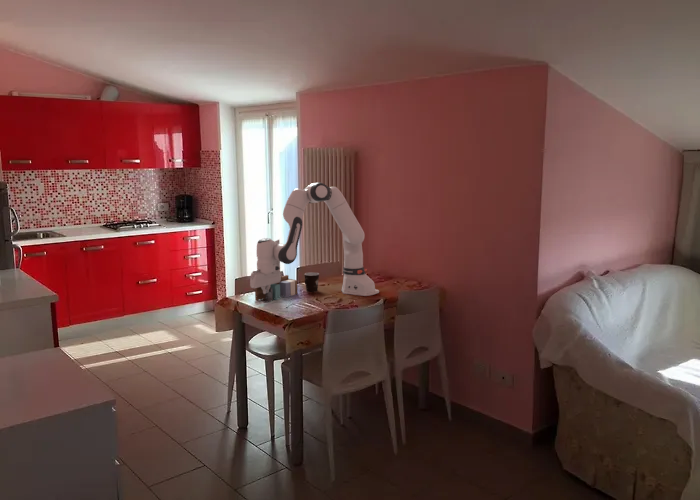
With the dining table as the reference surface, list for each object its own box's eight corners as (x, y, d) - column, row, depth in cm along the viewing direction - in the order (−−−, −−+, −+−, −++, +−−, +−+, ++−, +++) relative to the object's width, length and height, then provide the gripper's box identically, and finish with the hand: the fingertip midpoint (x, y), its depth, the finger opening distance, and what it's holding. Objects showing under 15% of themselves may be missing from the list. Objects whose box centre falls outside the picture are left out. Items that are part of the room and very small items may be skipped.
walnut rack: (297, 293, 341) (297, 276, 339) (266, 302, 322) (265, 284, 320) (286, 291, 346) (286, 274, 345) (255, 300, 327) (254, 282, 325)
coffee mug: (313, 288, 355) (313, 271, 353) (322, 290, 348) (322, 274, 347) (297, 291, 348) (297, 274, 346) (305, 293, 341) (305, 276, 339)
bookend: (272, 300, 325) (272, 288, 324) (266, 302, 322) (266, 289, 321) (266, 299, 328) (265, 286, 327) (259, 301, 325) (259, 288, 324)
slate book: (290, 295, 337) (290, 282, 335) (286, 297, 334) (285, 283, 332) (284, 294, 340) (283, 280, 338) (279, 295, 337) (279, 282, 335)
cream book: (295, 294, 340) (295, 280, 338) (291, 295, 337) (290, 281, 336) (289, 293, 343) (288, 279, 341) (284, 294, 340) (284, 280, 339)
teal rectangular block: (280, 298, 330) (280, 284, 329) (275, 299, 327) (275, 285, 326) (273, 297, 333) (273, 283, 332) (269, 298, 330) (269, 284, 329)
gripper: (255, 272, 312) (256, 297, 314) (282, 266, 328) (283, 290, 330) (247, 270, 315) (247, 296, 318) (274, 264, 331) (274, 289, 334)
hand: (266, 293), depth 324 cm, fingers closed
